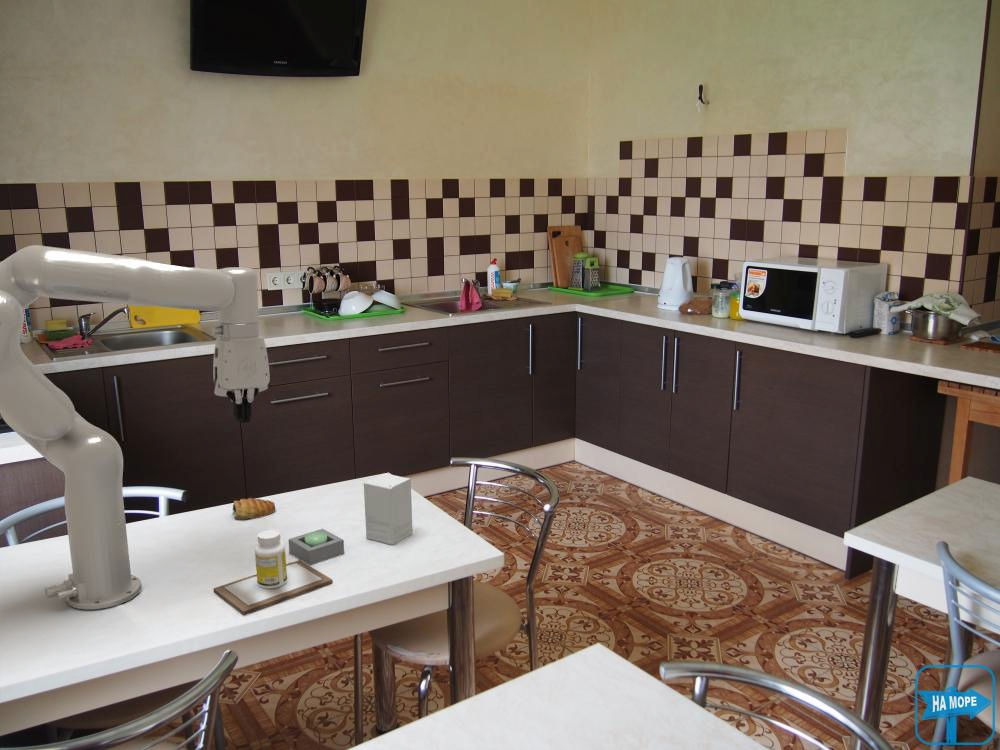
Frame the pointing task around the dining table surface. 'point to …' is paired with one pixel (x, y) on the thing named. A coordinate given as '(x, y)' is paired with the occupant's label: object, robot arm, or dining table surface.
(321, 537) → the button
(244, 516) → the pastry
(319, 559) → the button housing
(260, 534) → the supplement bottle
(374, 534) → the supplement box
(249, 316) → the robot arm
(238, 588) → the board
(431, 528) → the dining table surface
